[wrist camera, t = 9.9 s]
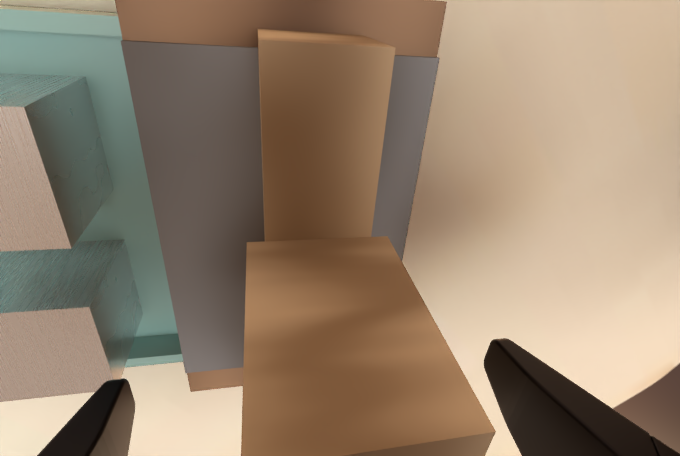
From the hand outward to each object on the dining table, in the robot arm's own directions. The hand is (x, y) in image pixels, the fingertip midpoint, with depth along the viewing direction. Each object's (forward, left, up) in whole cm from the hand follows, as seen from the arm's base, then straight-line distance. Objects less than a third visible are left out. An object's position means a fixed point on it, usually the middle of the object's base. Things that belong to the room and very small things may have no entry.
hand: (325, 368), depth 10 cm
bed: (0, 0, -8) cm, 9 cm away
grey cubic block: (+7, +3, -6) cm, 10 cm away
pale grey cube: (+7, -3, -6) cm, 10 cm away
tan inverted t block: (0, 0, -6) cm, 6 cm away
